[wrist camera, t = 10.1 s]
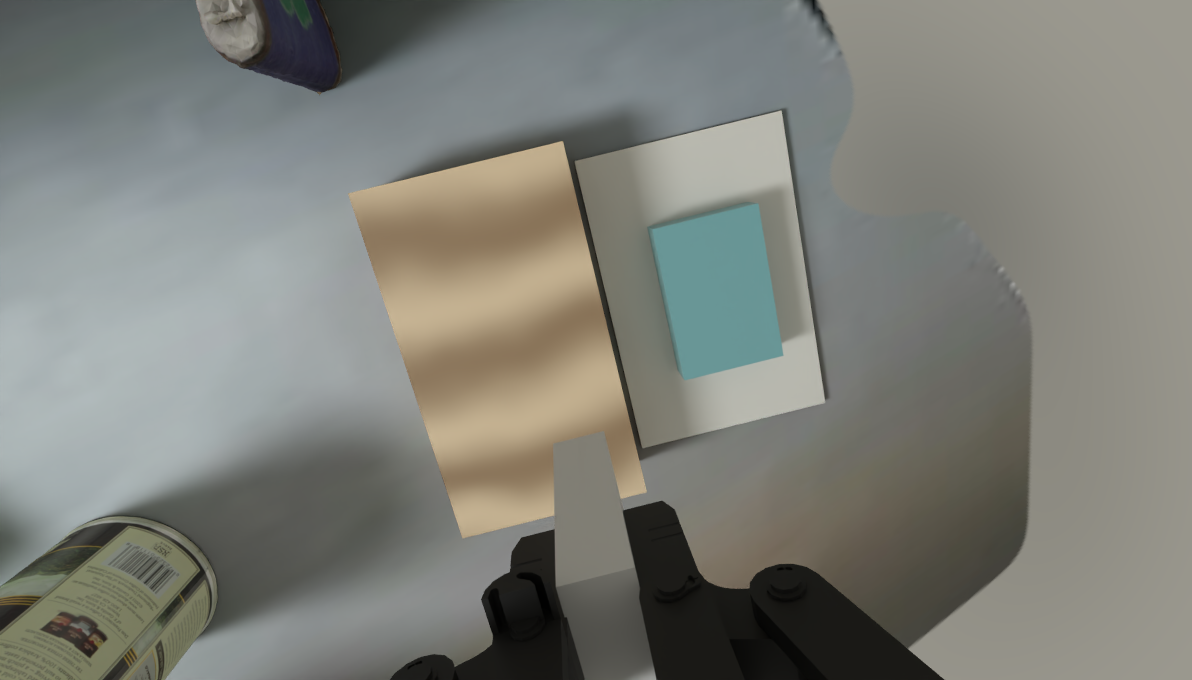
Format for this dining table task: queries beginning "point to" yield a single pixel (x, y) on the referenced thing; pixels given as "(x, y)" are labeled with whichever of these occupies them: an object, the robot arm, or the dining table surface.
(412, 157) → the dining table surface
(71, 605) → the coffee can
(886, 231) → the dining table surface
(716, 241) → the teal rectangular block
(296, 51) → the flask
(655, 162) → the mat
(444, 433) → the tan flat rectangular slab
